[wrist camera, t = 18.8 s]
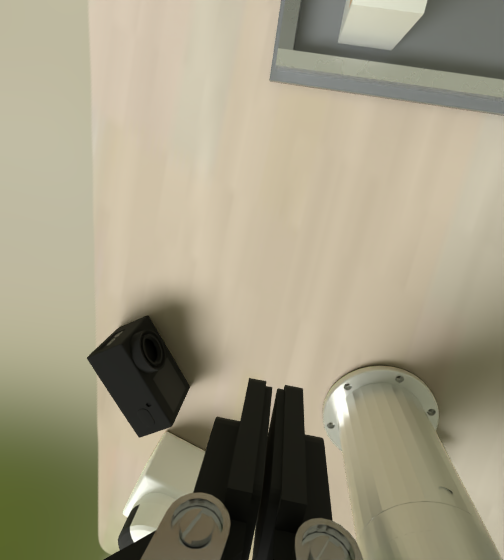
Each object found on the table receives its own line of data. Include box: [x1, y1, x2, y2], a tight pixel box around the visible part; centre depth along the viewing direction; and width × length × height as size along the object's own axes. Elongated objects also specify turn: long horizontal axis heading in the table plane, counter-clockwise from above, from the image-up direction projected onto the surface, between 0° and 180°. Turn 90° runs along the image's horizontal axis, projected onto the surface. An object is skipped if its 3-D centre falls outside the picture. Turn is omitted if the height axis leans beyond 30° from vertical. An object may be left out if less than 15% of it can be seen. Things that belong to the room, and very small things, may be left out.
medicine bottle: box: [118, 432, 206, 550], centre depth 42 cm, size 7×7×12 cm
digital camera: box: [87, 316, 190, 437], centre depth 40 cm, size 10×5×7 cm, turn 26°
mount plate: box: [270, 0, 504, 115], centre depth 29 cm, size 22×14×1 cm, turn 82°
